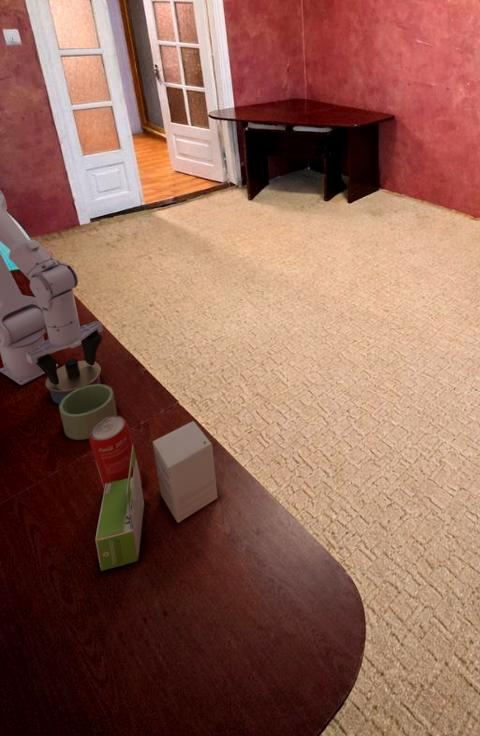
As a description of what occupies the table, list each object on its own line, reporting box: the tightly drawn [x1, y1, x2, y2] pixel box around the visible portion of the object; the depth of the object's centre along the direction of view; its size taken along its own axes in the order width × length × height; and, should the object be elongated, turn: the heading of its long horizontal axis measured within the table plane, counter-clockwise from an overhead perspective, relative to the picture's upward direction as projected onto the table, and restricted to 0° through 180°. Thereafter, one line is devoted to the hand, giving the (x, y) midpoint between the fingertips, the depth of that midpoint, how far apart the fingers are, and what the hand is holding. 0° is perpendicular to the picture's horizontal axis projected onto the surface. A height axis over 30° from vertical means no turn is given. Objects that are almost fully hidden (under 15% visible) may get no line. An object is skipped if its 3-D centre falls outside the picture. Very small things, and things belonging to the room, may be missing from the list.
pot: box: [58, 383, 118, 441], centre depth 98 cm, size 9×9×6 cm
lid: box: [45, 358, 102, 393], centre depth 106 cm, size 10×10×5 cm
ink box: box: [94, 444, 145, 572], centre depth 75 cm, size 10×5×14 cm, turn 22°
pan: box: [49, 375, 102, 405], centre depth 107 cm, size 9×9×4 cm
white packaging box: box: [152, 420, 219, 524], centre depth 83 cm, size 7×7×13 cm
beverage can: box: [88, 415, 143, 490], centre depth 83 cm, size 6×6×15 cm
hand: (73, 372), depth 106 cm, fingers open, 7 cm apart
